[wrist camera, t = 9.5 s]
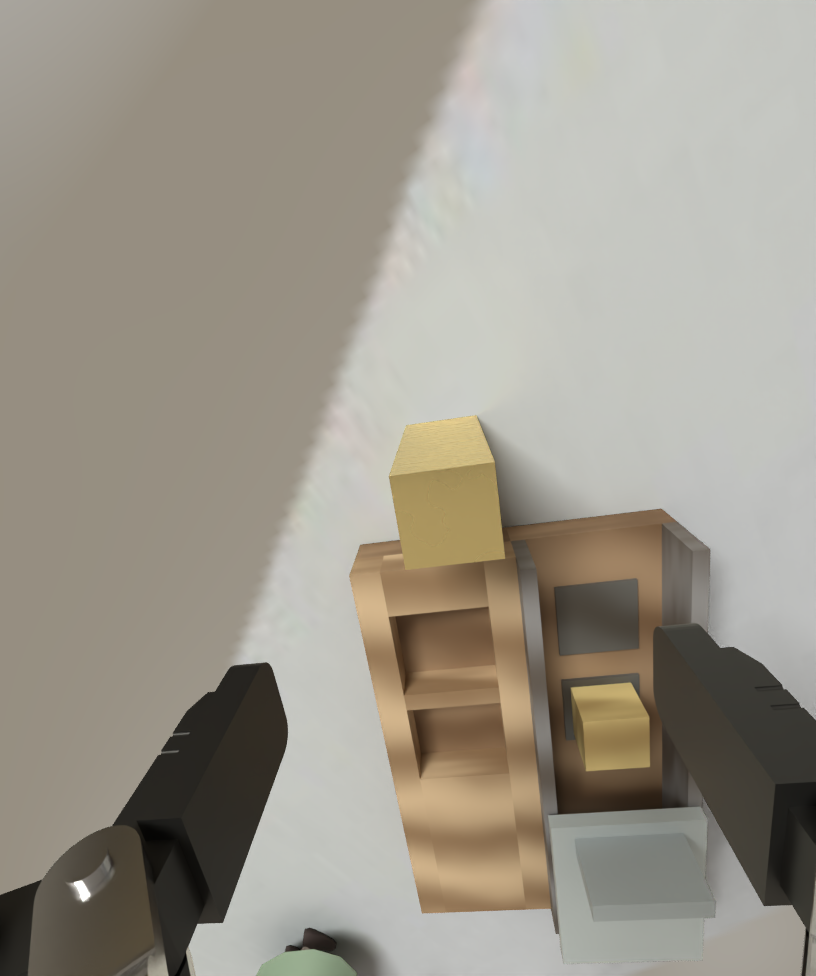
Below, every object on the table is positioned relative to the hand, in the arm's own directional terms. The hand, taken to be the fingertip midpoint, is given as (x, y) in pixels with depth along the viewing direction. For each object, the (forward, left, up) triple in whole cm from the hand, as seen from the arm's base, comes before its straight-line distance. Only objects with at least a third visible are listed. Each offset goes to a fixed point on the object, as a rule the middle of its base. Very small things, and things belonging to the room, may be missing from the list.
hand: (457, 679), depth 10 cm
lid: (-27, -7, -14) cm, 31 cm away
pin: (0, 0, -19) cm, 19 cm away
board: (-19, -3, -19) cm, 27 cm away
